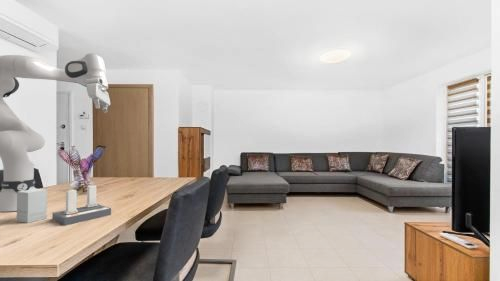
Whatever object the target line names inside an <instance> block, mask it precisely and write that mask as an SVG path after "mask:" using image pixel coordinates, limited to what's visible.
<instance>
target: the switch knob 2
mask: <svg viewBox="0 0 500 281" xmlns="http://www.w3.org/2000/svg"><path fill="white" fill-rule="evenodd" d="M97 189H98V188H97V185H95V184H94V185H87V188H86V204H85V206H86V207H93V206H97V204H98V203H97Z"/></svg>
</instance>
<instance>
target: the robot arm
mask: <svg viewBox="0 0 500 281" xmlns="http://www.w3.org/2000/svg"><path fill="white" fill-rule="evenodd" d="M17 78H19V79H20V78H21V79H33V80H37V79H38V80H49V81H57V82H67V83H74V84H79V85H81V86H83V87H86V92H87V95H88V97H89V98H90V99H92V101H93V104H94V106H95V108H96V110H97V109H101V106H102V113H104V114H106V113H108V107H110V106H111V99H110V96H109V92H108V91H107V90H108V89H109V83H108V77H107V69H106V63H105V60H104V59H103V57H102V56H100V55H99V54H96V53H87V54H85V56H84V57H81V58H80V59H77V60H71V61H69V62H68V63H66V65H65V66H64V69H63V68H62V69H61V68H58V67H56V66H53V65H51V64H49V63H47V62H45V61H43V60H41V59H39V58H36V57H33V56H29V55H28V56H27V55H20V54H19V55H18V54H9V55H8V54H6V55H0V160H1V163H2V166H3V169H2V170H3V180H2V181H1V190H0V212H3V213H4V212H5V213H6V212H17V192H19V191H25V190H31V189H38V188H36V187H35V184H36V179H35V178H34V176H35V165H34V163H33V161H31V159H29V156H28V153H32V152H36V151H38V150H41V149H42V148H44V146H45V145H46V144H45V142H46V141H45V137H44V136H43V135H42V134H40V133H38V132H36V131H35V130H33V129H32V128H31V127H30V126H28V125H27V124H26V123H25V122H23V121H22V120H21V119H20V118H19V117H18V116H17V115H16V114H15V112H14V111H13V110H12V109H11V108H10V107H9V105H8V104H7V103H6V101H5V100H4V98H8V97H10V95H13V94H14V93H16V92H17V91H18V90H19V87H20V82H19V80H18V79H17Z"/></svg>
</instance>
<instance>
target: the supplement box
mask: <svg viewBox="0 0 500 281" xmlns="http://www.w3.org/2000/svg"><path fill="white" fill-rule="evenodd" d="M47 204H48V189H43V188H42V189H40V188H37V189H31V190H25V191H19V192H17V211H16V222H18V223H19V222H20V223H26V224H28V223H29V224H30V223H33V222H37V221H40V220H43V219H44V220H45V219H47V216H48V215H47V213H48V210H47V207H48V205H47Z"/></svg>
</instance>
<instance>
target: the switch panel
mask: <svg viewBox="0 0 500 281" xmlns="http://www.w3.org/2000/svg"><path fill="white" fill-rule="evenodd" d="M76 210H78V212H77V213H72V214H64V211H66V209H65V210H59V211H55V212H52V218H51V219H52V220H53V221H54V222H56V223H58V224H60V225H62V226H69V225H73V224H77V223H81V222H86V221H91V220H94V219H95V220H96V219H99V218H104V217H108V216H111V215H112V207H108V206H104V205H101V204H98V203H97V206H93V207H86V205H85V206H80V207H76ZM52 220H51V221H52Z"/></svg>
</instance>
